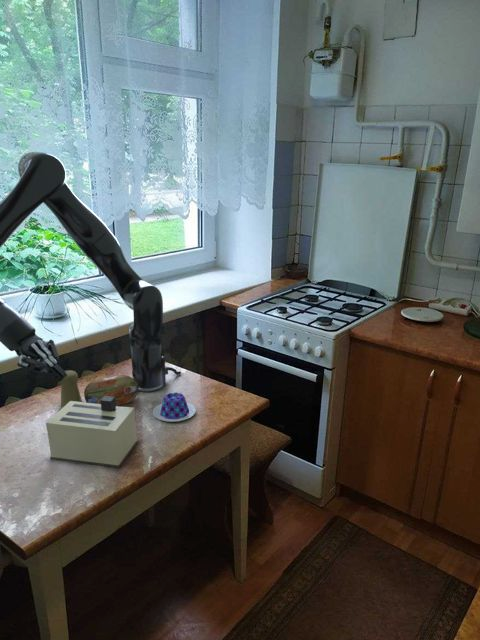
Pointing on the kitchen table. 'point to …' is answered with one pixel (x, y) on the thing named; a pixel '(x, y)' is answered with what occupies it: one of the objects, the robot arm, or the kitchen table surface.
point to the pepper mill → (69, 388)
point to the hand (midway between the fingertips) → (63, 378)
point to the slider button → (108, 403)
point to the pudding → (174, 408)
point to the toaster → (92, 434)
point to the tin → (112, 390)
